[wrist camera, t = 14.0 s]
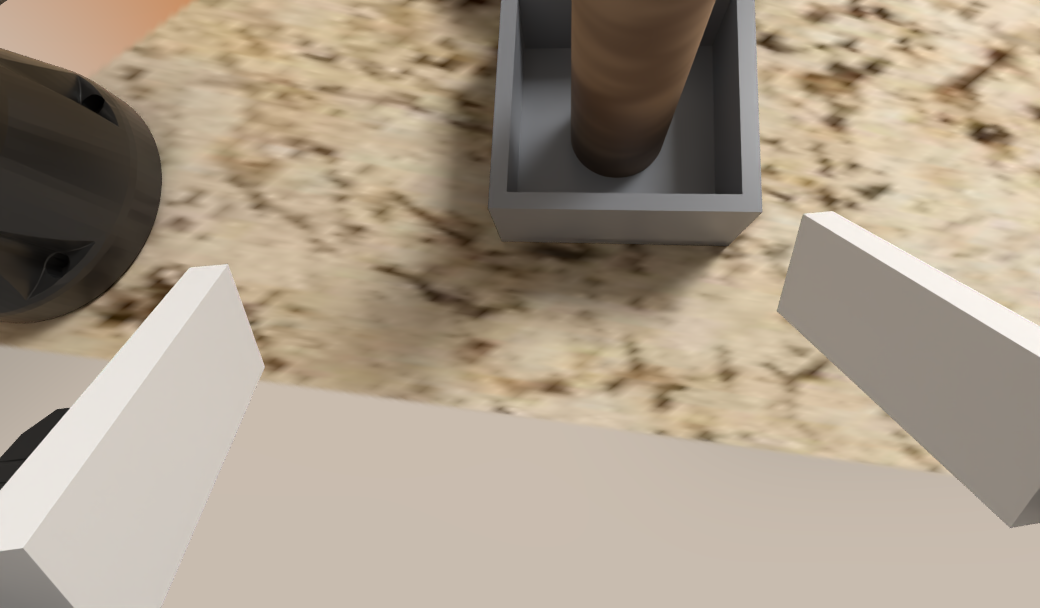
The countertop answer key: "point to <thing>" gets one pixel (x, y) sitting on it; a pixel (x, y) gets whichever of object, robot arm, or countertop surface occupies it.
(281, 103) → the countertop surface
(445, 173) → the countertop surface
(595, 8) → the pepper mill
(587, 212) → the tub
